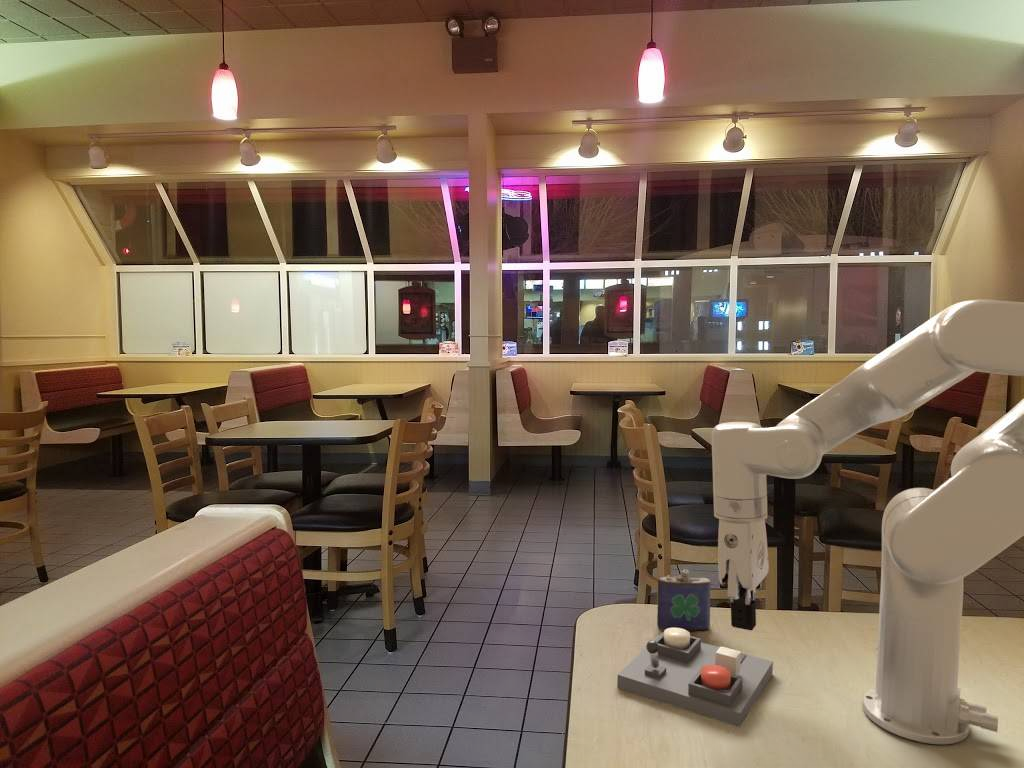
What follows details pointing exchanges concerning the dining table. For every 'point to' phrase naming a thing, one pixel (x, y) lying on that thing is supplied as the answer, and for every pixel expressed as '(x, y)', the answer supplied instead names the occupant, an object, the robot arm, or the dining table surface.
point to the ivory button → (677, 638)
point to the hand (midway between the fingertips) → (743, 626)
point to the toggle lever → (653, 653)
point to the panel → (696, 681)
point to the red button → (715, 677)
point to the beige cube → (729, 659)
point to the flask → (684, 603)
